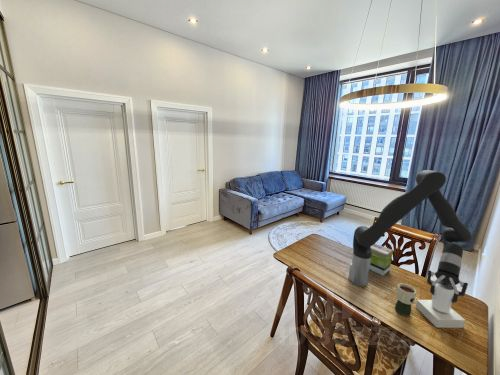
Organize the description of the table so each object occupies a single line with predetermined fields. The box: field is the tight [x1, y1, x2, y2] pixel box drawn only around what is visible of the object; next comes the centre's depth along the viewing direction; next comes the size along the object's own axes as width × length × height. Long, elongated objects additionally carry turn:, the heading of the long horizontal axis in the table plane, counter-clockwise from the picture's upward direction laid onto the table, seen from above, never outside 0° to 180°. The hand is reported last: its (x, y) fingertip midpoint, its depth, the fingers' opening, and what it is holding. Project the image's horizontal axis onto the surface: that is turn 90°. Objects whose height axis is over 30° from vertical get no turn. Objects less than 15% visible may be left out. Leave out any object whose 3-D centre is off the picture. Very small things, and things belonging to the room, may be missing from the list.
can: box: [431, 282, 454, 313], centre depth 97 cm, size 6×6×12 cm
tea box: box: [369, 243, 394, 277], centre depth 136 cm, size 15×10×15 cm, turn 37°
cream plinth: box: [415, 299, 466, 329], centre depth 99 cm, size 12×12×4 cm
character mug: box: [394, 283, 417, 317], centre depth 101 cm, size 11×7×13 cm, turn 133°
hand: (442, 298), depth 96 cm, fingers closed on can, 6 cm apart
